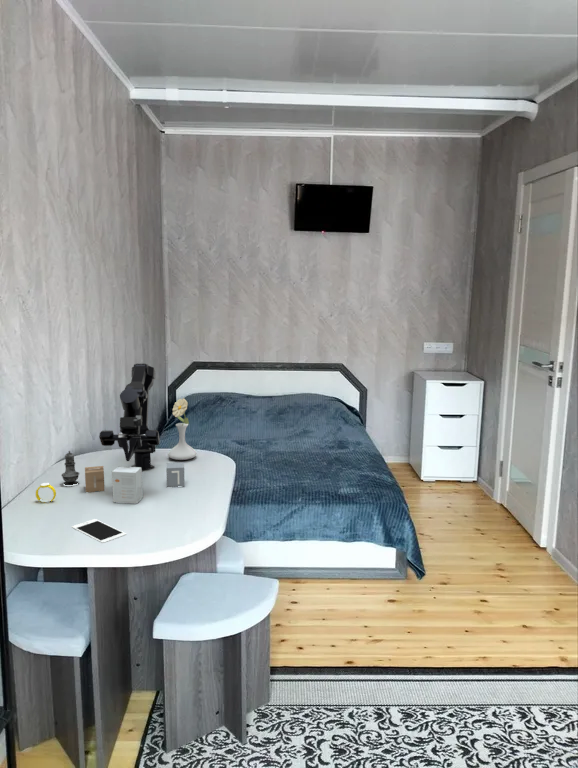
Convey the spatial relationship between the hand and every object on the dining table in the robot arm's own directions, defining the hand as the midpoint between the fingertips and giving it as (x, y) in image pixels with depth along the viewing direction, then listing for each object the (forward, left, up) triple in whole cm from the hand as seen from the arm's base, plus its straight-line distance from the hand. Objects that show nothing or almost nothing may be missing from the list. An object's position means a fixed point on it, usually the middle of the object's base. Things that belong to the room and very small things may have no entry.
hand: (127, 460), depth 194 cm
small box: (+1, -1, -13) cm, 13 cm away
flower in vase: (-26, +38, -13) cm, 48 cm away
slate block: (-2, +19, -13) cm, 23 cm away
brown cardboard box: (-16, -4, -13) cm, 21 cm away
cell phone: (+17, -19, -13) cm, 29 cm away
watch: (-15, -21, -13) cm, 29 cm away
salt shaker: (-26, -8, -13) cm, 30 cm away
